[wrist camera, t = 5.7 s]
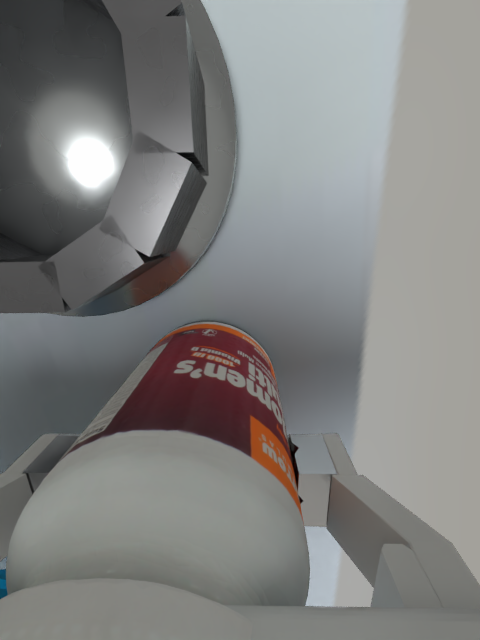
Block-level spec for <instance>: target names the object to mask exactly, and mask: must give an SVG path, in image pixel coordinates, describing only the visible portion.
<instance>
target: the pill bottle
mask: <svg viewBox="0 0 480 640" xmlns="http://www.w3.org/2000/svg"><path fill="white" fill-rule="evenodd" d="M309 576H310V564H309V552H308V546H307V540H306V534H305V528H304V522H303V517H302V512H301V505H300V500H299V495H298V490H297V486H296V479H295V472H294V468H293V464H292V459H291V454H290V448H289V443H288V437H287V433H286V426H285V423H284V416H283V411H282V406H281V401H280V397H279V391H278V387H277V381H276V377H275V373H274V369H273V366H272V363H271V361H270V359H269V357H268V355H267V354H266V352H265V351H264V349H263V348H262V347H261V345H260V344H259V343H258V342H257V341H256V340H255V339H253V338H252V337H251V336H250V335H248V334H247V333H245V332H243V331H242V330H240V329H238V328H236V327H233V326H231V325H227V324H224V323H219V322H197V323H191V324H188V325H185V326H182V327H179V328H177V329H175V330H173V331H171V332H170V333H168V334H167V335H166V336H164V337H163V338H162V339H161V340H160V341H159V342H158V343H157V344H156V345H155V346H154V347H153V348H152V349H151V350H150V351H149V352H148V354H147V355H146V357H145V358H144V359H143V360H142V361H141V362H140V364H139V365H138V366H137V367H136V369H135V370H134V371H133V372H132V373H131V375H130V376H129V377H128V378H127V380H126V381H125V382H124V383H123V385H122V386H121V387H120V388H119V389H118V391H117V392H116V393H115V394H114V395H113V396H112V398H111V399H110V400H109V401H108V402H107V403H106V405H105V406H104V407H103V408H102V410H101V411H100V412H99V413H98V414H97V416H96V417H95V418H94V419H93V421H92V422H91V423H90V424H89V425H88V427H87V428H86V429H85V430H84V431H83V433H82V434H81V435H80V436H79V437H78V439H77V440H76V441H75V442H74V443H73V445H72V446H71V447H70V448H69V449H68V451H67V452H66V453H65V454H64V455H63V457H62V458H61V459H60V460H59V462H58V463H57V464H56V465H55V466H54V467H53V469H52V470H51V471H50V472H49V473H48V474H47V475H46V477H45V478H44V479H43V481H42V482H41V484H40V485H39V487H38V488H37V489H36V491H35V492H34V493H33V495H32V496H31V498H30V499H29V501H28V502H27V504H26V505H25V507H24V509H23V511H22V513H21V515H20V517H19V519H18V521H17V523H16V526H15V528H14V531H13V534H12V537H11V540H10V544H9V549H8V555H7V561H6V587H7V593H8V595H7V596H6V597H4V598H1V599H0V640H251V634H252V627H253V624H252V622H251V620H249V619H247V618H246V617H244V616H243V615H241V614H239V613H238V612H236V611H234V610H232V609H230V608H228V607H226V606H224V605H259V606H305V604H306V600H307V596H308V588H309Z"/></svg>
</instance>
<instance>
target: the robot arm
mask: <svg viewBox="0 0 480 640" xmlns="http://www.w3.org/2000/svg"><path fill="white" fill-rule="evenodd" d="M80 435H81V434H69V433H62V434H59V433H47V434H44V435H42V436H41V437H40V438H39V439H37V440H36V441H35V442H34V443H33V444H32V445H31V446H30V447H29V448H28V449H27V450H26V451H25V452H24V453H23V454H22V455H21V456H20V457H19V458H18V459H17V460H16V461H15V462H14V463H13V464H12V465H11V466H10V467H9V468H8V469H7V470H6V471H5V472H4V473H3V474H0V561H2V560H3V559H4V558H5V557H6V556H7V555H8V549H9V544H10V540H11V537H12V534H13V531H14V528H15V526H16V523H17V521H18V519H19V517H20V515H21V513H22V511H23V509H24V507H25V505H26V504H27V502H28V501H29V499H30V498H31V496H32V495H33V493H34V492H35V491H36V489H37V488H38V487H39V485H40V484H41V482H42V481H43V479H44V478H45V477H46V475H47V474H48V473H49V472H50V471H51V470H52V469H53V467H54V466H55V465H56V464H57V463H58V462H59V460H60V459H61V458H62V457H63V455H64V454H65V453H66V452H67V451H68V449H69V448H70V447H71V446H72V445H73V443H74V442H75V441H76V440H77V439H78V437H79V436H80ZM288 443H289V448H290V454H291V459H292V464H293V468H294V472H295V479H296V486H297V490H298V495H299V500H300V505H301V512H302V517H303V522H304V526H318V527H327V529H328V531H329V532H330V533H331V535H332V536H333V537H334V538H335V540H336V541H337V542H338V543H339V545H340V546H341V547H342V548H343V550H344V551H345V552H346V554H347V555H348V556H349V557H350V558H351V560H352V561H353V562H354V564H355V565H356V566H357V567H358V569H359V570H360V571H361V572H362V573H363V575H364V576H365V577H366V579H367V580H368V581H369V582H370V584H371V585H372V586H373V587H374V591H373V597H372V602H371V607H325V606H259V605H224V606H226V607H228V608H230V609H232V610H234V611H236V612H238V613H239V614H241V615H243V616H244V617H246V618H247V619H249V620H251V622H252V624H253V627H252V634H251V640H480V585H479V583H478V582H477V580H476V579H475V577H474V576H473V574H472V573H471V571H470V570H469V568H468V567H467V565H466V563H465V562H464V561H463V559H462V557H461V556H460V554H459V553H458V551H457V550H456V548H455V547H454V545H453V544H452V543H451V542H450V541H448V540H447V539H446V538H445V537H443V536H442V535H441V534H439V533H438V532H437V531H435V530H434V529H433V528H432V527H430V526H429V525H428V524H426V523H425V522H424V521H422V520H421V519H420V518H418V517H417V516H416V515H414V514H413V513H412V512H411V511H409V510H408V509H407V508H405V507H404V506H403V505H401V504H400V503H399V502H397V501H396V500H395V499H393V498H392V497H391V496H390V495H388V494H387V493H386V492H384V491H383V490H382V489H381V488H379V487H378V486H376V485H375V484H374V483H373V482H371V481H370V480H369V479H367V478H366V477H365V476H363V475H357V472H356V470H355V468H354V466H353V464H352V462H351V460H350V457H349V455H348V453H347V451H346V449H345V447H344V445H343V443H342V440H341V438H340V436H339V435H338V434H337V433H321V434H289V437H288Z"/></svg>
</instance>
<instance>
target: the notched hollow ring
mask: <svg viewBox="0 0 480 640" xmlns="http://www.w3.org/2000/svg"><path fill="white" fill-rule="evenodd" d="M236 151H237V135H236V122H235V110H234V100H233V95H232V90H231V84H230V79H229V74H228V69H227V66H226V63H225V60H224V56H223V53H222V50H221V46H220V43H219V40H218V38H217V35H216V33H215V31H214V28H213V26H212V24H211V21H210V19H209V17H208V14H207V12H206V10H205V8H204V6H203V4H202V3H201V1H200V0H0V313H51V314H57V315H63V316H82V317H83V316H96V315H105V314H110V313H114V312H119V311H123V310H126V309H129V308H131V307H134V306H137V305H140V304H142V303H144V302H146V301H148V300H150V299H151V298H153V297H155V296H157V295H159V294H160V293H162V292H163V291H165V290H166V289H167V288H169V287H170V286H172V285H173V284H174V283H176V282H177V281H178V280H180V279H181V278H182V277H183V276H184V275H185V274H186V273H187V272H188V271H189V270H190V269H191V268H192V267H193V266H194V265H195V264H196V263H197V262H198V260H199V259H200V258H201V257H202V255H203V254H204V253H205V251H206V250H207V249H208V247H209V245H210V243H211V242H212V240H213V238H214V237H215V235H216V233H217V231H218V229H219V227H220V224H221V222H222V220H223V217H224V215H225V213H226V210H227V206H228V203H229V199H230V196H231V192H232V188H233V181H234V175H235V169H236Z"/></svg>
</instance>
